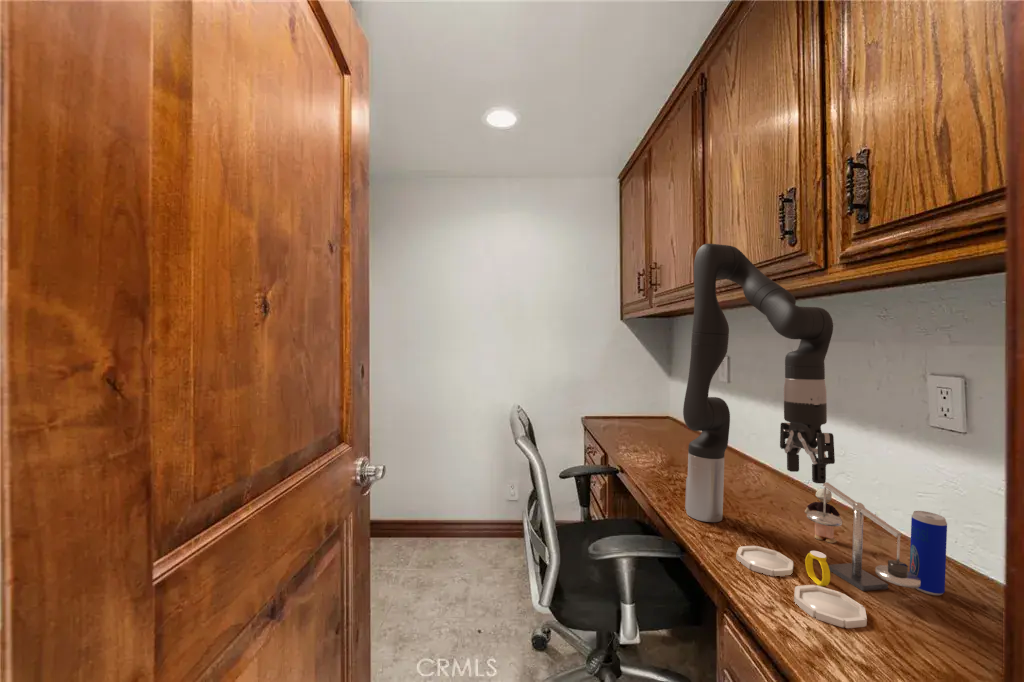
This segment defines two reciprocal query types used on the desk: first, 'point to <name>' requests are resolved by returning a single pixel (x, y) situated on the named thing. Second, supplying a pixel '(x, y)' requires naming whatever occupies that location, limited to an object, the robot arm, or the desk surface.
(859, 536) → the balance
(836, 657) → the desk surface
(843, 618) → the dish lower pan side
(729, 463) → the desk surface
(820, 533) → the grandmother figurine
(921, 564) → the beverage can
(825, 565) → the watch
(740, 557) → the dish upper pan side
